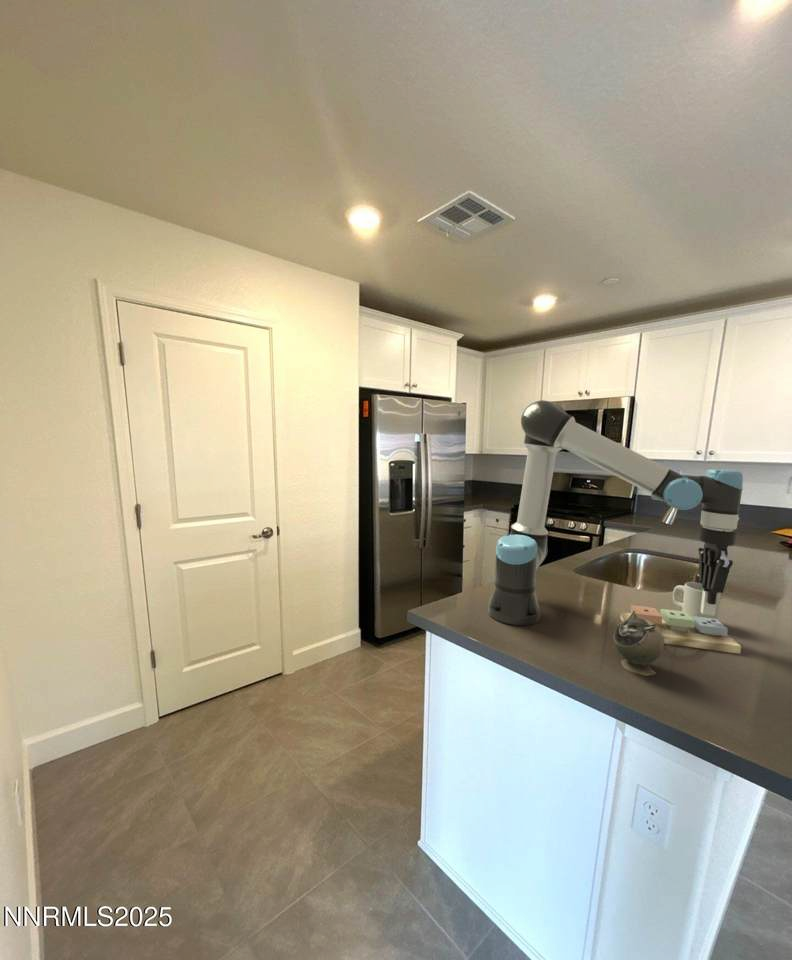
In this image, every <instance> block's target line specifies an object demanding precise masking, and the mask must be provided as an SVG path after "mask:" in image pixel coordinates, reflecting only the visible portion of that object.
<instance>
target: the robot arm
mask: <svg viewBox="0 0 792 960" xmlns="http://www.w3.org/2000/svg"><path fill="white" fill-rule="evenodd" d="M520 423H521V424H520V425H521V429H522V431H523V432H524V443H523V445H524V446H525V448H526V450H527V455H526V461H525V467H524V473H523V480H522V481H523V482H522V487H521V493H520V500H519V506H518V511H517V519H516V522H514V523H512V524H511V526H510V533H509V534H508V535H503V536H502V537H500V538H499V539H497V542H496V547H495V570H494V571H495V576H494V578H495V579H494V588H493V590H492V594H491V595H490V598H489V600H488V604H487V613H488V615H489V616H490V617H491V618H492V619H494V620H495V621H498V622H501V623H503V624H509V625H513V626H530V625H534V624H536V623H538V622H539V621H540V618H541V616H540V615H541V610H540V607H539V602H538V599H537V595H536V580H537V578H536V576H537V575H536V574H537V569H538V568H539V567H540V565H541V564H543V562H544V561H545V560H546V557H547V556H548V537H549V531H548V530H547V528H546V526H545V524H546V517H547V512H548V505H549V500H550V493H551V487H552V483H553V482H552V481H553V474H554V471H555V464H556V457H557V453H558V452H560V451H561V450H562V449H564V450H567V451H568V452H570V453H571V454H574V455H576V456H577V457H580V458H581V459H583V460H585V461H587V462H589V463H590V464H593V465H594V466H597V467H598V468H600V469H602V470H603V471H606V472H608V473H609V474H611V475H613V476H615V477H616V478H619V479H620V480H623V481H625V482H627V483H629V484H631V485H632V486H635V487H636V488H638V489H640V490H643V491H644V492H646V493H648V494H650V497H651V498H650V499H652V500H655V501H660V502H665V503H666V504H667V505H668V507H669V506H670V507H671V508H673V509H676V510H680V511H681V510H682V511H687V510H688V511H689V510H692V509H694V508H696V507H697V506H698V505H702V509H701V512H700V514H701V515H700V521H699V524H700V525H701V526H700V528H699V532H698V539H699V541H700V542H702V543H704V544H703V547H699V548H698V556H699V557H698V558H699V559H698V560H699V561H698V566H699V571H698V573H699V575H698V576H699V577H698V583H700V584H702V588H703V594H702V602H701V610H700V612H701V613H702V614H706V615H713V616H715V609H716V601H717V593H721V594H723V593H724V590H725V588H726V587H725V586H726V583H727V580H728V576H729V574H730V573H729V572H730V569H731V568H732V566H733V564H734V561H733V560H731V559H728V555H729V552H728V547H733V546H734V545H735V544H736V538H737V532H736V531H735V530H736V529H738V522H739V520H740V517H739V514H740V508H741V507H740V506H741V500H742V494H743V490H744V489H743V483H744V482H743V480H744V476H743V473H742V472H741V471H739V470H732V469H720V468H719V469H715V468H714V469H712V468H709V469H708V470H707V471H706V473H705V474H704V475H691V474H690V475H689V474H688V475H687V474H681V473H679V472H676V471H674V470H672V469H670V468H668V467H667V466H664V465H662V464H661V463H658V462H657V461H654V460H652V459H650V458H648V457H646V456H644V455H642V454H640V453H638V452H636V451H635V450H632V449H630V448H628V447H626V446H624V445H622V444H620V443H618V442H617V441H614V440H612V439H610V438H609V437H606V436H604V435H602V434H600V433H598V432H596V431H594V430H591V429H590V428H588V427H586V426H584V425H582V424H580V423H577V422H576V419H575V417H574V416H573V415H571V414H568V413H567V412H566V411H565V409H564V408H563V407H562V406H560V405H559V404H556V403H554V402H552V401H549V400H544V399H543V400H537V401H534V402H532V403H530V404H528V405H527V406H526V408H525V409H524V410H523V412H522V415H521V417H520Z"/></svg>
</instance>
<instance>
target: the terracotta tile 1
mask: <svg viewBox="0 0 792 960" xmlns="http://www.w3.org/2000/svg"><path fill="white" fill-rule="evenodd" d="M633 611H635V614H637V615H636V616H637V617H639V618H642V619H645V620H647V621H649V622H651V623H653V624H654V623H659V624H662V616H661V615H660V612H659V611H658V610H657V608H656V607H649V606H640V605H632V604H631V605H630V613H633Z"/></svg>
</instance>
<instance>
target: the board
mask: <svg viewBox="0 0 792 960" xmlns="http://www.w3.org/2000/svg"><path fill="white" fill-rule="evenodd" d="M631 614H632V613H631V612H622V611H621V612H620V620H621V622H622V621H624V620H626V619H628V618H629V617H630V615H631ZM666 624H667V623H666V622H665V621H664V619H663V618H662V624H659V623H654V625H656V626H657V627H658V629H659V630H660V631H661V633H662V635H663V638H664V644H667V645H674V646H681V647H689V648H694V649H696V648H697V649H702V650H709V651H717V652H723V653H733V654H739V655H741V654H742V653H741V652H742V645H741V644H739V643H738V642H737V641H736V640H735V639H734V638H732V636H731V635H729V634H728V633H727V636H723V635H719V636H711V635H703V634H701V633H700V632H699V631H698V630H697V629H696V628H695V627H694V628H691V627H686V632H680V631H673V630H670V629H669V628H668V626H667V625H666Z"/></svg>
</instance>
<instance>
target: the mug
mask: <svg viewBox="0 0 792 960" xmlns="http://www.w3.org/2000/svg"><path fill="white" fill-rule="evenodd" d="M679 591H682V592H683V598H682V602H681V601H680V600H679V598H678V593H679ZM702 594H703V588H702V584H700V583H699V582H695V581H691V582H690V581H687V582H685V583H684V585H682V584H681V585H680V584H679V585H676V586H675V587H674V588H673V591H672V601H673V603H674V605H675V606H677V607H678V608H681V611H685V612H686V613H687V614H688V615H689V616H690V617H691V616H696V617H704V618H712V619H717V620H718V621H719V613H720V603H721V594H722V593H717V601H716V609H715V616H713V615H706V614H702V613H701V612H700V610H701V602H702Z"/></svg>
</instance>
